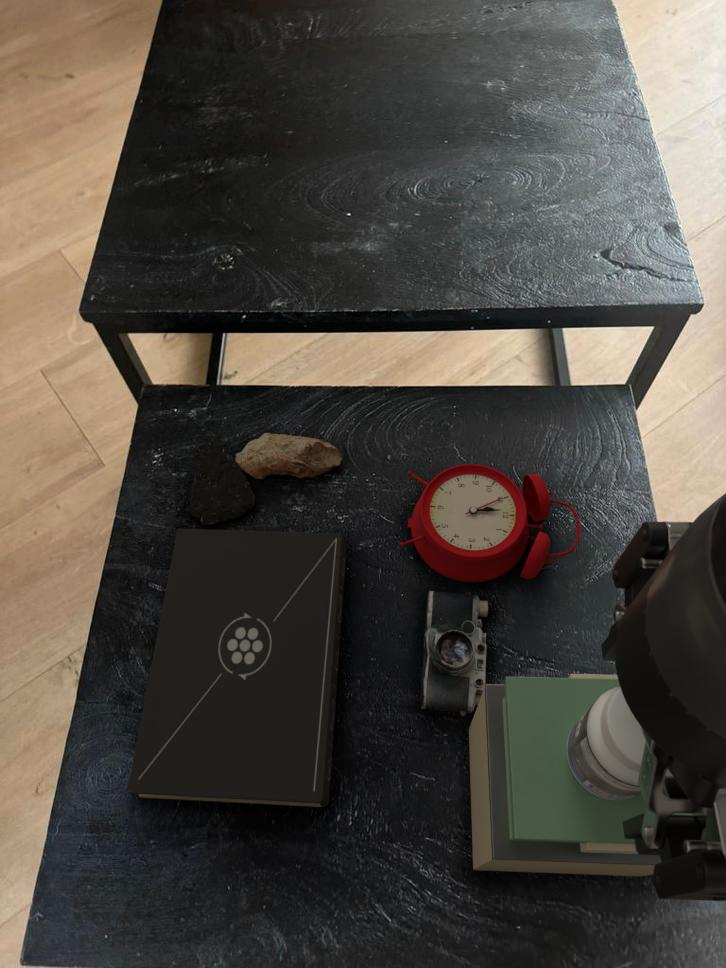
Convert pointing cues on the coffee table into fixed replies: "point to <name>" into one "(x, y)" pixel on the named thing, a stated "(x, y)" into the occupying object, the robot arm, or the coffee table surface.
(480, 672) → the camera
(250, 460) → the tan elongated rock
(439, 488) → the alarm clock
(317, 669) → the book
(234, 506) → the arrowhead
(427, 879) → the coffee table surface
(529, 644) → the coffee table surface
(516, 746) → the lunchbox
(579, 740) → the pill bottle
